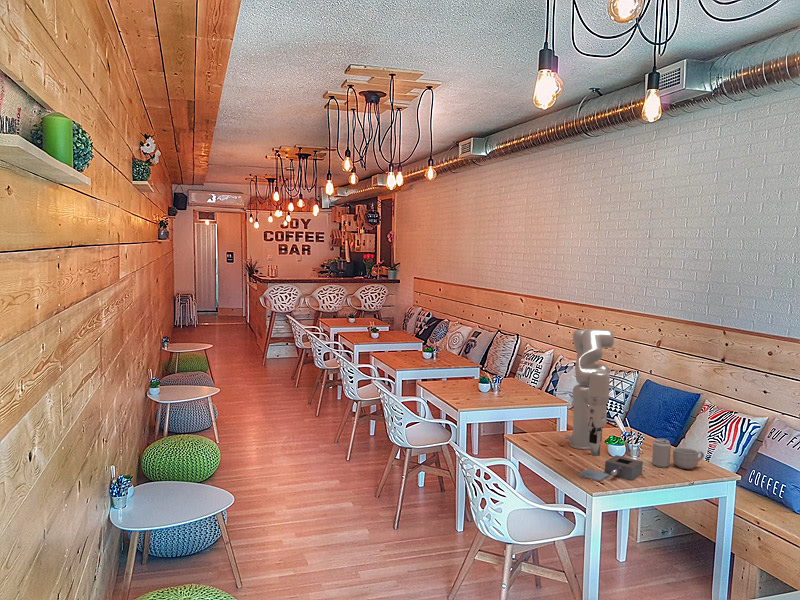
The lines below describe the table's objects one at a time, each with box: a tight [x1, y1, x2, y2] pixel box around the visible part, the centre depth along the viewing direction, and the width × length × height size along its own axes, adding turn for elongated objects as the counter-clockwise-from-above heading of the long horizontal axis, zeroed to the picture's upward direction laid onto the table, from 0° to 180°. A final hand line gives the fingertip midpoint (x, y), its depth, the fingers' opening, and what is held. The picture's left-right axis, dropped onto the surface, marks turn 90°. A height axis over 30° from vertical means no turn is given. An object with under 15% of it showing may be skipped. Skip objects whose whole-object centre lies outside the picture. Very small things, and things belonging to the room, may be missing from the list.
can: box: [651, 438, 672, 468], centre depth 281 cm, size 8×8×12 cm
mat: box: [577, 468, 610, 482], centre depth 264 cm, size 10×10×1 cm
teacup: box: [672, 447, 705, 470], centre depth 280 cm, size 14×11×8 cm
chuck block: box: [604, 454, 643, 481], centre depth 266 cm, size 12×18×6 cm, turn 138°
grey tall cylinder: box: [589, 425, 602, 457], centre depth 263 cm, size 4×4×14 cm
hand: (595, 441), depth 263 cm, fingers closed on grey tall cylinder, 4 cm apart
